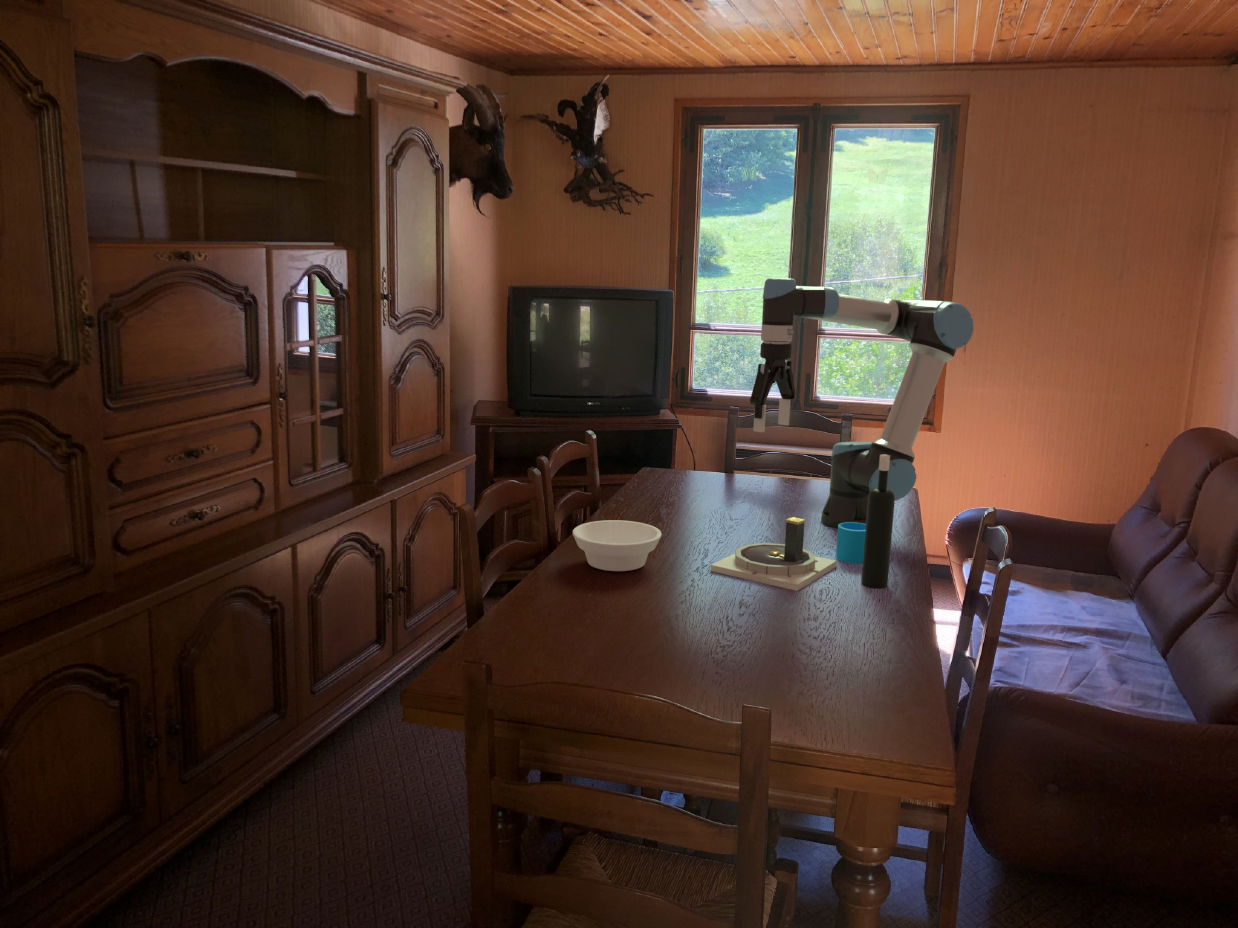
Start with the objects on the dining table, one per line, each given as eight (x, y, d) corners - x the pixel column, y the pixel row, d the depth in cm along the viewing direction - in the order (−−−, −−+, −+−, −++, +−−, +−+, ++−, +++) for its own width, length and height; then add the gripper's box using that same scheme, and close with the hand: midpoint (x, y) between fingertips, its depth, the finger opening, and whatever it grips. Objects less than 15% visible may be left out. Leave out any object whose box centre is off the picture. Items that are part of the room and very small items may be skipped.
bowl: (673, 559, 233) (675, 527, 231) (639, 584, 214) (640, 549, 213) (596, 547, 242) (596, 515, 240) (556, 570, 223) (556, 536, 221)
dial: (733, 560, 227) (735, 514, 224) (766, 548, 237) (769, 504, 234) (783, 574, 217) (786, 526, 215) (815, 561, 228) (819, 515, 225)
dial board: (754, 549, 242) (754, 536, 242) (836, 566, 230) (837, 552, 229) (710, 570, 225) (711, 556, 224) (797, 590, 212) (798, 575, 212)
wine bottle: (888, 581, 220) (899, 453, 214) (886, 589, 215) (897, 458, 208) (862, 578, 222) (872, 451, 216) (860, 586, 216) (870, 456, 210)
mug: (868, 565, 232) (870, 532, 230) (833, 561, 235) (836, 528, 233) (872, 551, 243) (874, 520, 242) (839, 547, 246) (841, 517, 244)
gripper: (767, 346, 222) (762, 436, 227) (811, 340, 242) (806, 423, 247) (738, 344, 226) (734, 432, 231) (784, 338, 246) (779, 420, 251)
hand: (771, 428), depth 239 cm, fingers open, 13 cm apart
